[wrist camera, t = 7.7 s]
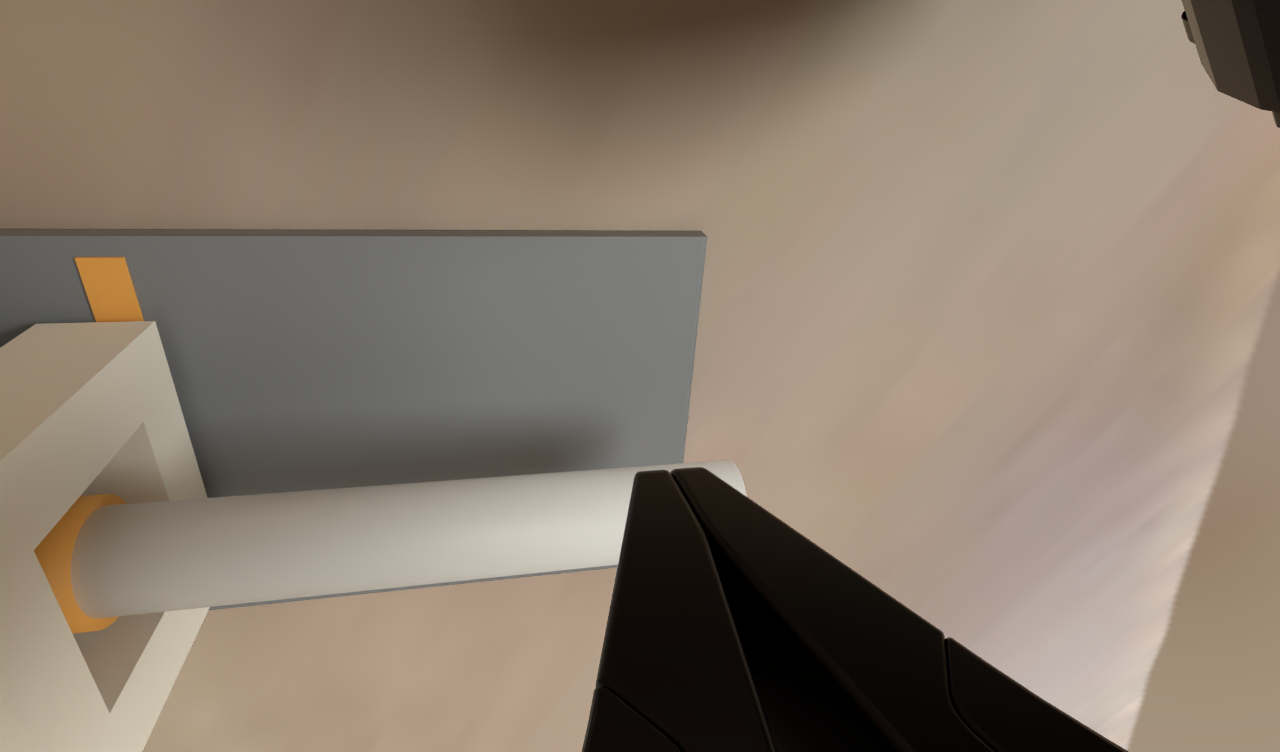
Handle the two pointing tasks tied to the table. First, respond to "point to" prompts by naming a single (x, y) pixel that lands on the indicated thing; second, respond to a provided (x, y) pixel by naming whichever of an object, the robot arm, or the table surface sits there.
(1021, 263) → the table surface
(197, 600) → the pipe mount
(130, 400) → the collar ring
